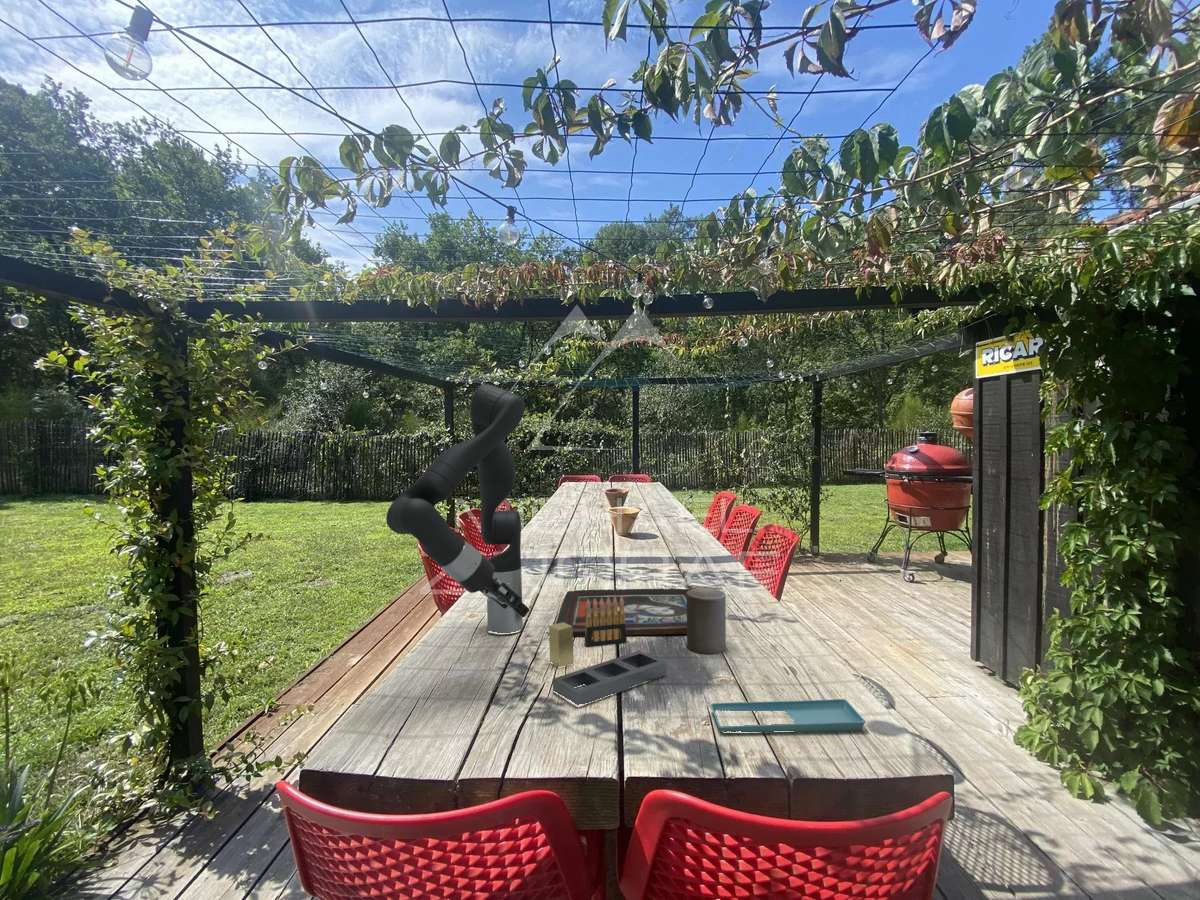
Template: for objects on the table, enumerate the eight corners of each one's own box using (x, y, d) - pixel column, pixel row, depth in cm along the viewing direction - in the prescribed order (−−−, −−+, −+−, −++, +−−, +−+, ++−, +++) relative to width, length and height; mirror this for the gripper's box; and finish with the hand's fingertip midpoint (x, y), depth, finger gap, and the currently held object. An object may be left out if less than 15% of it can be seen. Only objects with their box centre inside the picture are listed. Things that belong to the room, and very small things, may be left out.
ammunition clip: (625, 640, 152) (624, 594, 152) (626, 643, 150) (625, 596, 150) (584, 644, 150) (583, 598, 149) (586, 647, 148) (585, 600, 148)
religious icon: (723, 636, 154) (723, 624, 154) (553, 640, 155) (553, 629, 155) (700, 595, 194) (700, 585, 194) (565, 598, 195) (565, 589, 195)
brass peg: (559, 668, 135) (558, 630, 135) (549, 663, 138) (548, 625, 138) (573, 664, 137) (572, 626, 137) (564, 659, 140) (563, 622, 140)
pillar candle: (683, 652, 143) (682, 591, 143) (690, 638, 152) (690, 581, 152) (723, 657, 140) (723, 595, 139) (728, 642, 149) (728, 584, 148)
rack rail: (577, 708, 115) (577, 693, 115) (553, 692, 122) (552, 678, 122) (666, 675, 130) (666, 662, 130) (639, 663, 137) (639, 650, 137)
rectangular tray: (719, 738, 104) (718, 724, 104) (709, 713, 113) (709, 701, 113) (867, 735, 104) (867, 722, 103) (845, 711, 113) (845, 698, 113)
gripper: (493, 556, 119) (543, 601, 126) (464, 546, 130) (511, 589, 137) (470, 587, 116) (522, 631, 123) (441, 574, 127) (491, 616, 134)
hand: (516, 609), depth 130 cm, fingers open, 8 cm apart
